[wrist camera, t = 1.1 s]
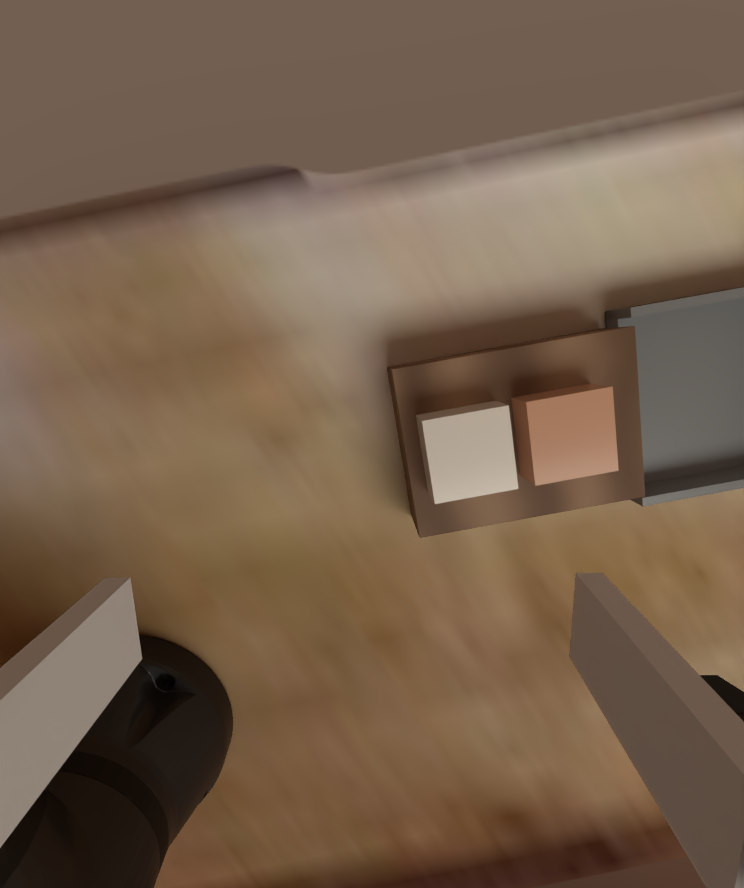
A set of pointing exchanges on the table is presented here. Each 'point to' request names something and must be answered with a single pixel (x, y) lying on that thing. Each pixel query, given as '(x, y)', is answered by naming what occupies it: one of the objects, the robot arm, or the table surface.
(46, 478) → the table surface
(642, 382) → the tray
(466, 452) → the cream tile
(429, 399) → the walnut board
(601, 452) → the terracotta tile
